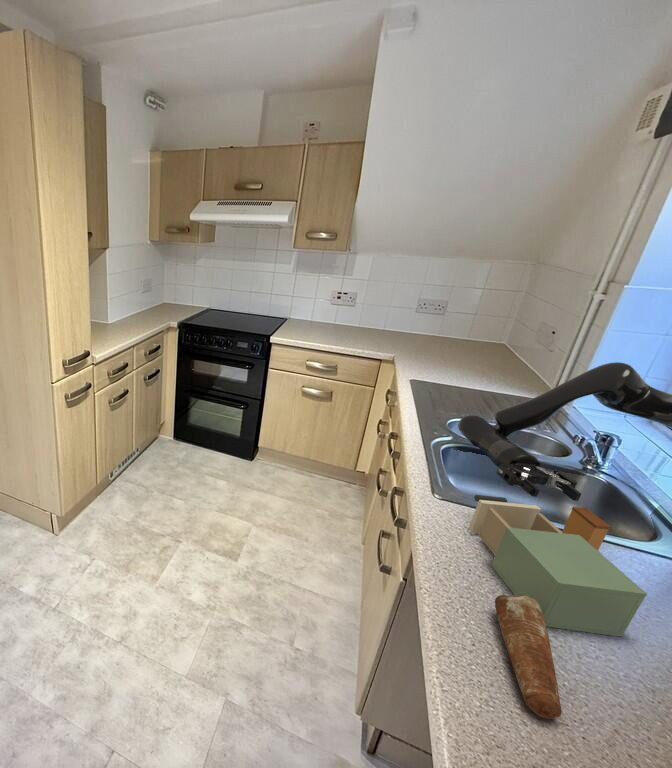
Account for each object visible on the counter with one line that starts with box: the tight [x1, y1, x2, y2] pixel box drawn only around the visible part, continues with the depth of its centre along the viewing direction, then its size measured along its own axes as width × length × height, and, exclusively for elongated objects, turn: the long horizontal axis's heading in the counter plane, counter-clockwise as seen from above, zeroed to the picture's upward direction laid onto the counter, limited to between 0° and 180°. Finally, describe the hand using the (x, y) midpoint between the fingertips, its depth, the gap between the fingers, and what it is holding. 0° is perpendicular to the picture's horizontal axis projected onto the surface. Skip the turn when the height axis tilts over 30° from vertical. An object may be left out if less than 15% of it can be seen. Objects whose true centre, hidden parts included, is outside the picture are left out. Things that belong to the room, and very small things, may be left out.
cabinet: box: [491, 527, 648, 638], centre depth 74 cm, size 14×13×10 cm
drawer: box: [468, 494, 562, 556], centre depth 87 cm, size 18×11×8 cm, turn 171°
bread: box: [494, 594, 562, 720], centre depth 63 cm, size 6×19×6 cm, turn 148°
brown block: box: [561, 506, 611, 552], centre depth 87 cm, size 3×6×8 cm, turn 171°
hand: (557, 495), depth 95 cm, fingers open, 8 cm apart
